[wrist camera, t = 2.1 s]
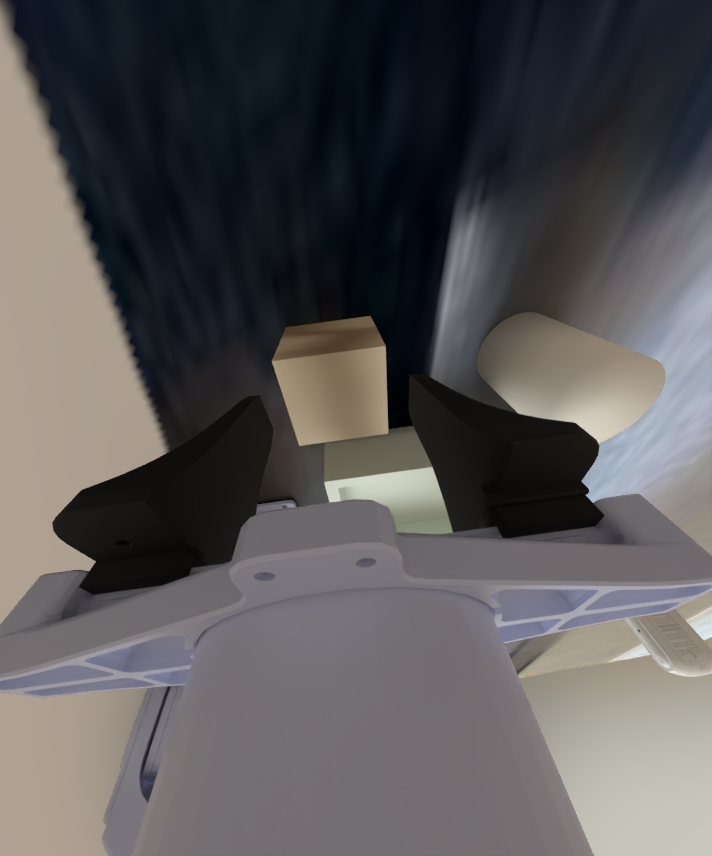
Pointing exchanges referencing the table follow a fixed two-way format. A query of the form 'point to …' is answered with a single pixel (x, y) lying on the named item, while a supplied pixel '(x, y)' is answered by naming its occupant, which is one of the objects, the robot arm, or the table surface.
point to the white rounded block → (673, 643)
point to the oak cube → (333, 380)
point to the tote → (388, 478)
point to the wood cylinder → (568, 374)
